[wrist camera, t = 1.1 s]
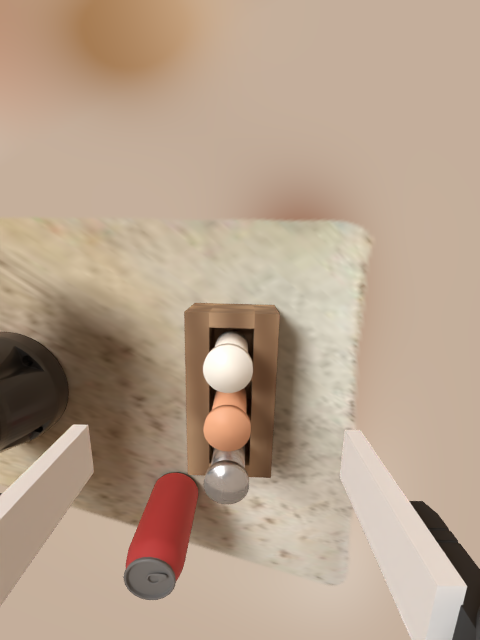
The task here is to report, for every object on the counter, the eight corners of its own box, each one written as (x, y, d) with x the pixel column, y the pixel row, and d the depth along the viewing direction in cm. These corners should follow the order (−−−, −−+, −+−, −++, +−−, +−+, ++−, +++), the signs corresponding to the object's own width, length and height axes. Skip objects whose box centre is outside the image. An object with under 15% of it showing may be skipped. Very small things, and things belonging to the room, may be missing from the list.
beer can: (204, 502, 41) (187, 599, 30) (162, 510, 42) (129, 608, 30) (192, 466, 40) (170, 551, 28) (149, 474, 40) (109, 562, 29)
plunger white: (212, 364, 31) (203, 392, 25) (212, 326, 30) (202, 345, 24) (250, 365, 31) (252, 393, 25) (252, 327, 30) (253, 346, 24)
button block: (196, 442, 39) (187, 474, 33) (194, 303, 35) (184, 311, 29) (267, 444, 39) (270, 477, 33) (274, 305, 35) (279, 314, 29)
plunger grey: (212, 455, 34) (203, 503, 27) (212, 423, 33) (203, 465, 26) (247, 456, 34) (248, 505, 27) (248, 424, 33) (249, 466, 26)
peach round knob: (212, 411, 33) (203, 450, 26) (212, 377, 32) (203, 408, 25) (249, 412, 33) (250, 452, 26) (250, 378, 32) (251, 409, 25)
